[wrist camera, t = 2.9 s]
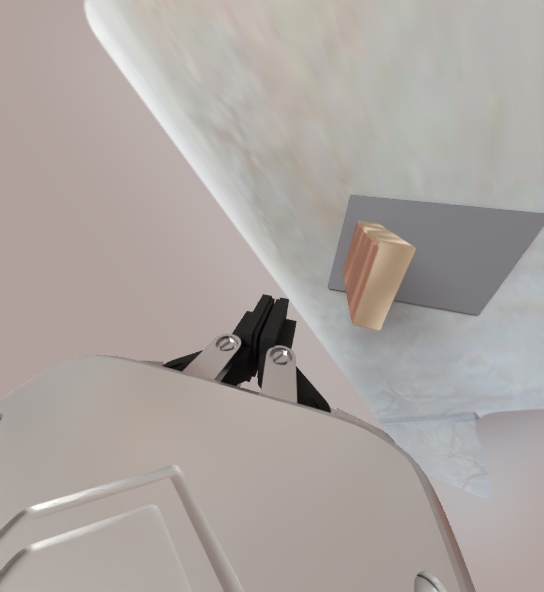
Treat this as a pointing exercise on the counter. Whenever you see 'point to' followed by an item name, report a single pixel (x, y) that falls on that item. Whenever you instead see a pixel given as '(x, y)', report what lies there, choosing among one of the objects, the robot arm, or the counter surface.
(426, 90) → the counter surface
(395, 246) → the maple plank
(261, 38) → the counter surface
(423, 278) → the rubber mat
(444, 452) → the counter surface
